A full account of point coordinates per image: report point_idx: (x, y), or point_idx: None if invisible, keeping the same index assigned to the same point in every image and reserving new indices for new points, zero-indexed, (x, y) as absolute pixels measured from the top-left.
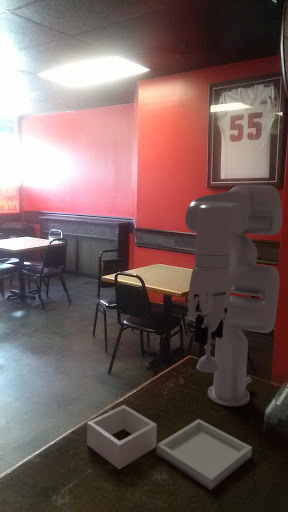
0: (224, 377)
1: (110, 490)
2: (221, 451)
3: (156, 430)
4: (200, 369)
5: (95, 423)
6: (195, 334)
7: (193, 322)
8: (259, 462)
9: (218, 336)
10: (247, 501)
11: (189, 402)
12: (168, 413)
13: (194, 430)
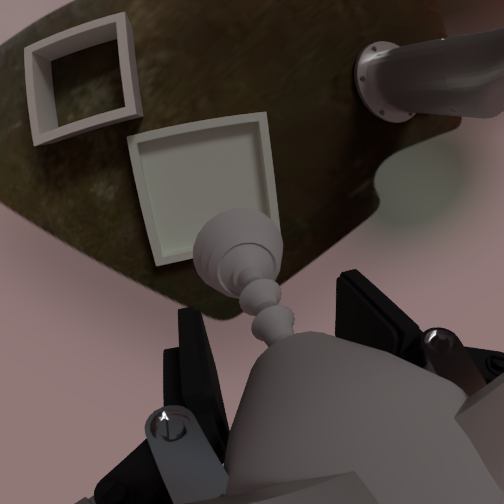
0: (400, 83)
1: (25, 182)
2: (236, 202)
3: (138, 114)
4: (196, 261)
5: (39, 50)
6: (181, 340)
7: (127, 457)
8: None
9: (338, 333)
10: (190, 298)
11: (312, 39)
12: (244, 39)
13: (240, 123)
